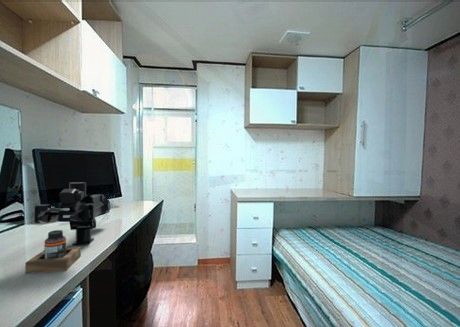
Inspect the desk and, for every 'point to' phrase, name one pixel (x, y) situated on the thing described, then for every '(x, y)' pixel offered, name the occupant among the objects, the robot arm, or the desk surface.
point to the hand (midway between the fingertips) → (54, 218)
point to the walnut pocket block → (52, 262)
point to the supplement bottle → (55, 245)
